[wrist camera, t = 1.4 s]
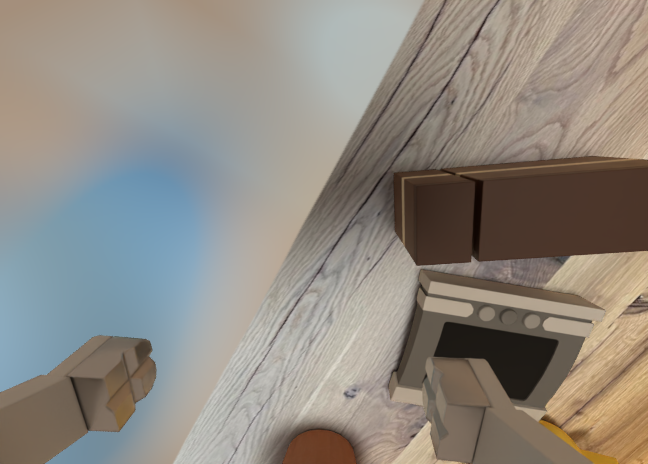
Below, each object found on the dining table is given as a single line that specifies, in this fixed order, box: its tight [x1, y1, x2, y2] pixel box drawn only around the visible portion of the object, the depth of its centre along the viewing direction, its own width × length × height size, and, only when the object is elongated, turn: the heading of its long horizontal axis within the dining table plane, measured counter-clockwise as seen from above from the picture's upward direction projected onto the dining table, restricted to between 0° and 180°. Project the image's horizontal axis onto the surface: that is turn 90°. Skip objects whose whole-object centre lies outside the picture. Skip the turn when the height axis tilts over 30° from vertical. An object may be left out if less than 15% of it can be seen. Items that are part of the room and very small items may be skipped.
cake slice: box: [394, 169, 475, 266], centre depth 26 cm, size 4×6×9 cm, turn 5°
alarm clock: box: [389, 270, 606, 422], centre depth 34 cm, size 17×5×16 cm
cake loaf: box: [441, 156, 648, 261], centre depth 26 cm, size 14×6×9 cm, turn 95°
